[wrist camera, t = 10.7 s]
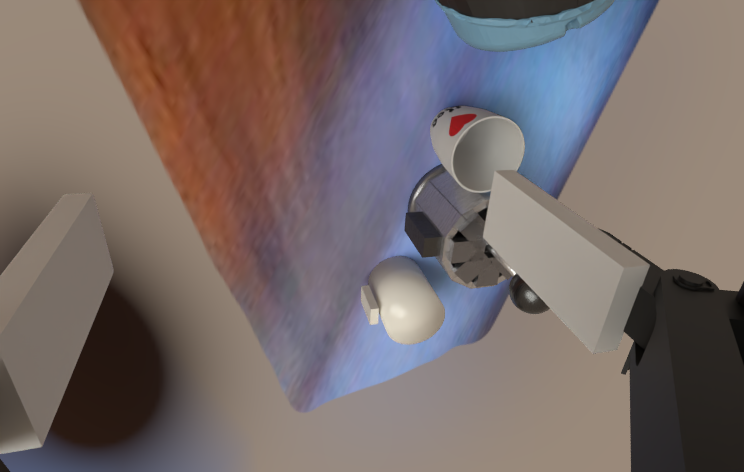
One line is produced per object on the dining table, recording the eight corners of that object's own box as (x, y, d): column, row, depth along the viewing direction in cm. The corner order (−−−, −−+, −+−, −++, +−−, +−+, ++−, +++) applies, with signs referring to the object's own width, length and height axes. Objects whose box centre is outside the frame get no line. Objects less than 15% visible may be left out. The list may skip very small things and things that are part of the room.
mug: (357, 260, 61) (375, 300, 54) (422, 253, 63) (448, 291, 56) (356, 306, 65) (372, 350, 57) (418, 298, 67) (441, 339, 60)
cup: (480, 87, 54) (526, 108, 46) (481, 153, 58) (523, 183, 50) (414, 101, 53) (449, 125, 44) (420, 167, 57) (453, 200, 49)
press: (399, 163, 56) (434, 203, 46) (500, 158, 59) (554, 195, 49) (392, 249, 62) (423, 301, 52) (485, 240, 65) (531, 288, 55)
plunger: (428, 180, 56) (512, 269, 39) (493, 176, 58) (599, 259, 41) (422, 242, 60) (495, 347, 43) (482, 236, 62) (575, 334, 45)
